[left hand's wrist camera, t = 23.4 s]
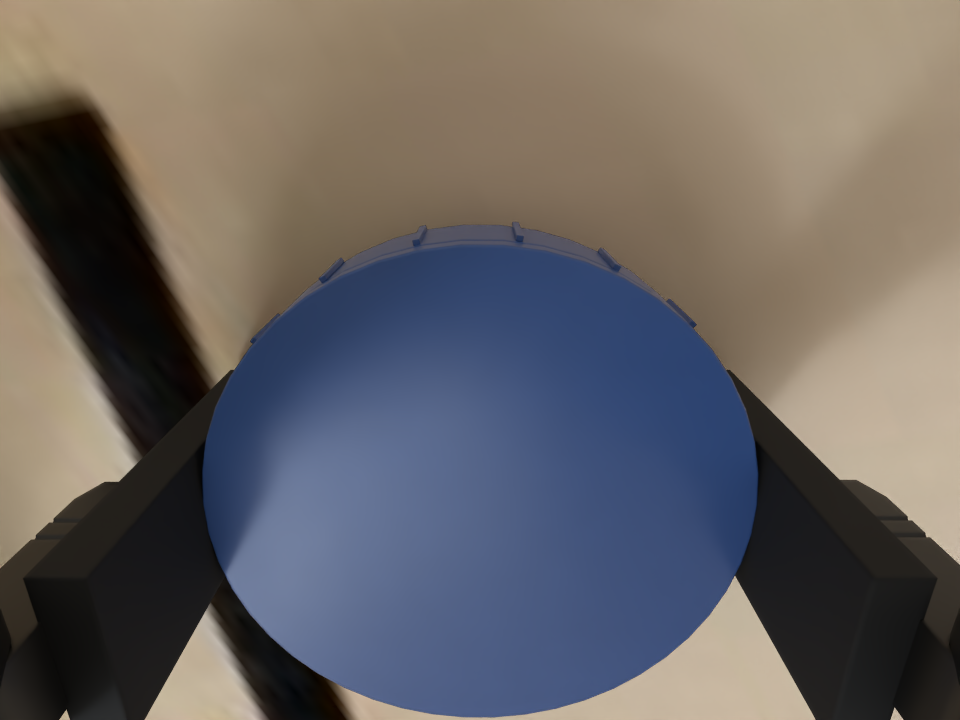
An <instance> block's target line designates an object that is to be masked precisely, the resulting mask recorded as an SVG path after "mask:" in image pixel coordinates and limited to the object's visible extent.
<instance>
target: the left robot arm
mask: <svg viewBox="0 0 960 720" xmlns="http://www.w3.org/2000/svg"><path fill="white" fill-rule="evenodd" d="M233 371H234V370H230V371H229V372H228V373H227V374H226V375H225V376H224V377H223V378H222V379H221V380H220V381H219V382H218V383H217V384H216V385H215V386H214V387H213V388H212V389H211V390H210V391H209V392H208V393H207V394H206V395H205V396H204V397H203V398H202V399H201V400H200V401H199V402H198V403H197V404H196V405H195V406H194V407H193V408H192V409H191V410H190V411H189V412H188V413H187V414H186V415H185V416H184V417H183V418H182V419H181V420H180V421H179V422H178V423H177V424H176V425H175V426H174V427H173V428H172V429H171V430H170V431H169V432H168V433H167V434H166V435H165V436H164V437H163V438H162V439H161V440H160V441H159V442H158V443H157V444H156V445H155V446H154V447H153V448H152V449H151V450H150V451H149V452H148V453H147V454H146V455H145V456H144V457H143V458H142V459H141V460H140V461H139V462H138V463H137V464H136V465H135V466H134V467H133V468H132V469H131V470H130V471H129V472H128V473H127V474H126V475H125V476H124V477H123V478H122V479H121V480H120V481H119V482H104V483H102V484H100V485H99V486H97V487H95V488H93V489H91V490H90V491H88V492H86V493H84V494H83V495H81V496H79V497H77V498H76V499H74V500H73V501H72V502H71V503H70V504H69V505H68V506H67V507H66V508H65V509H63V510H62V511H61V512H60V513H59V514H58V515H57V516H56V517H55V518H54V521H53V523H48V524H47V525H46V526H45V527H44V528H43V529H42V530H41V531H40V532H39V533H38V534H37V535H36V538H35V540H30V541H29V542H28V543H27V544H26V545H25V546H24V547H23V548H22V549H21V550H20V551H18V552H17V553H16V554H15V555H14V556H13V557H12V558H11V559H10V560H9V561H8V562H7V563H6V564H5V565H3V566H2V567H1V568H0V720H59V719H60V718H61V716H62V715H63V713H64V712H65V711H66V709H67V712H68V715H69V718H70V720H145V718H146V716H147V714H148V713H149V711H150V709H151V707H152V705H153V704H154V702H155V700H156V698H157V696H158V695H159V693H160V691H161V689H162V688H163V686H164V684H165V682H166V680H167V679H168V677H169V675H170V673H171V671H172V670H173V668H174V666H175V664H176V663H177V661H178V659H179V657H180V655H181V654H182V652H183V650H184V648H185V647H186V645H187V643H188V641H189V639H190V638H191V636H192V634H193V632H194V630H195V629H196V627H197V625H198V623H199V622H200V620H201V618H202V616H203V614H204V613H205V611H206V609H207V607H208V605H209V604H210V602H211V600H212V598H213V597H214V595H215V593H216V591H217V589H218V588H219V586H220V584H221V582H222V581H223V579H224V577H225V574H224V572H223V570H222V568H221V566H220V564H219V562H218V559H217V556H216V553H215V550H214V547H213V545H212V542H211V539H210V536H209V532H208V527H207V522H206V516H205V511H204V506H203V486H202V467H203V459H204V452H205V444H206V438H207V434H208V431H209V427H210V424H211V421H212V417H213V414H214V410H215V407H216V405H217V403H218V401H219V399H220V397H221V394H222V392H223V390H224V388H225V386H226V384H227V382H228V380H229V378H230V376H231V374H232V373H233ZM726 371H727V372H728V374H729V375H730V377H731V378H732V380H733V383H734V385H735V387H736V389H737V391H738V393H739V395H740V398H741V400H742V402H743V404H744V407H745V409H746V412H747V415H748V419H749V423H750V426H751V430H752V433H753V437H754V441H755V448H756V457H757V466H758V494H757V507H756V512H755V518H754V523H753V528H752V533H751V537H750V540H749V543H748V545H747V548H746V551H745V554H744V556H743V559H742V562H741V565H740V566H739V568H738V570H737V572H736V574H735V576H736V578H737V580H738V582H739V583H740V585H741V587H742V589H743V590H744V592H745V594H746V596H747V598H748V599H749V601H750V603H751V605H752V607H753V608H754V610H755V612H756V614H757V615H758V617H759V619H760V621H761V623H762V624H763V626H764V628H765V630H766V631H767V633H768V635H769V637H770V639H771V640H772V642H773V644H774V646H775V648H776V649H777V651H778V653H779V655H780V656H781V658H782V660H783V662H784V664H785V665H786V667H787V669H788V671H789V673H790V674H791V676H792V678H793V680H794V681H795V683H796V685H797V687H798V689H799V690H800V692H801V694H802V696H803V698H804V699H805V701H806V703H807V705H808V706H809V708H810V710H811V712H812V714H813V715H814V717H815V719H816V720H890V719H891V716H892V713H893V710H894V707H895V708H896V710H897V711H898V712H899V714H900V715H901V717H902V718H903V719H904V720H960V565H959V564H958V563H957V562H956V561H955V560H954V559H953V558H952V557H951V556H950V555H948V554H947V553H946V552H945V551H944V550H943V549H942V548H941V547H940V546H939V545H938V544H937V543H936V542H934V541H933V540H932V539H931V538H930V537H926V535H925V532H924V531H923V530H922V529H920V528H919V527H918V526H917V525H916V524H915V523H914V522H913V521H908V517H907V516H906V515H905V514H904V513H903V512H902V511H901V510H900V509H899V508H898V507H897V506H896V505H895V504H893V503H892V502H891V501H890V500H889V499H888V498H887V497H886V496H884V495H882V494H880V493H879V492H877V491H875V490H873V489H871V488H870V487H868V486H866V485H864V484H863V483H861V482H859V481H857V480H839V479H838V478H837V477H836V476H835V475H834V474H833V473H832V472H831V471H830V470H829V469H828V468H827V467H826V466H825V465H824V464H823V463H822V462H821V461H820V460H819V459H818V458H817V457H816V456H815V455H814V454H813V453H812V452H811V451H810V450H809V449H808V448H807V447H806V446H805V445H804V444H803V443H802V442H801V441H800V440H799V439H798V438H797V437H796V436H795V435H794V434H793V433H792V432H791V431H790V430H789V429H788V428H787V427H786V426H785V425H784V424H783V423H782V422H781V421H780V420H779V419H778V418H777V417H776V416H775V415H774V414H773V413H772V412H771V411H770V410H769V409H768V408H767V407H766V406H765V405H764V404H763V403H762V402H761V401H760V400H759V399H758V398H757V397H756V396H755V395H754V394H753V393H752V392H751V391H750V390H749V389H748V388H747V387H746V386H745V385H744V384H743V383H742V382H741V381H740V380H739V379H738V378H737V377H736V376H735V375H734V374H733V373H732V372H731V371H730V370H726Z"/></svg>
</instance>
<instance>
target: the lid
mask: <svg viewBox="0 0 960 720" xmlns="http://www.w3.org/2000/svg"><path fill="white" fill-rule="evenodd" d="M696 325H697V324H696V323H695V322H694V321H693V320H692V319H691V318H690V317H689V316H688V315H687V314H686V313H684V312H683V311H682V310H681V309H680V308H679V307H678V306H677V305H676V304H675V303H674V302H673V301H672V300H671V299H668V300H667V301H665V300H664V299H663V298H662V297H661V296H660V295H659V294H658V293H657V292H656V291H655V290H653V289H652V288H651V287H650V286H648V285H647V284H646V283H645V282H644V281H642V280H641V279H640V278H639V277H638V276H636V275H635V274H634V273H633V272H631V271H630V270H628V269H627V268H625V267H623V266H622V265H620V264H618V263H617V262H616V261H615V260H614V259H613V258H612V257H611V255H610V254H609V253H608V252H607V251H606V250H604V249H602V248H600V249H599V250H598V252H597V251H595V250H593V249H590V248H588V247H586V246H583V245H581V244H579V243H576V242H574V241H572V240H569V239H566V238H562V237H559V236H555V235H551V234H548V233H544V232H541V231H537V230H531V229H524V228H520V225H519V223H518V222H512V227H510V226H502V225H459V226H451V227H443V228H436V229H428V230H427V228H426V225H424V226H420V227H419V229H418V231H417V233H413V234H409V235H405V236H402V237H398V238H394V239H391V240H389V241H387V242H384V243H382V244H379V245H377V246H375V247H372V248H370V249H367V250H365V251H363V252H360V253H359V254H357V255H355V256H354V257H352V258H350V259H349V260H347V261H345V262H344V260H343V259H342V258H340V259H338V260H337V261H336V262H335V263H334V264H333V265H332V266H331V267H330V268H329V269H328V270H327V271H326V272H325V273H324V274H323V275H322V276H321V277H320V278H319V280H318V281H317V282H315V283H314V284H313V285H312V286H310V287H309V288H308V289H307V290H305V291H304V292H303V293H302V294H301V295H300V296H299V297H298V298H297V299H296V300H295V301H294V302H293V303H292V304H291V305H290V306H289V307H288V308H287V309H286V310H285V311H284V312H283V313H282V314H281V315H280V314H277V315H276V316H275V317H274V318H273V319H272V320H271V321H270V322H269V323H267V324H266V325H265V326H264V327H263V328H262V329H261V330H260V331H259V332H258V333H257V334H256V335H255V336H254V337H253V338H252V339H251V341H250V342H251V343H253V345H252V346H251V347H250V348H249V349H248V351H247V352H246V354H245V355H244V357H243V358H242V360H241V361H240V363H239V364H238V366H237V367H236V368H235V370H234V371H233V373H232V374H231V376H230V378H229V380H228V382H227V384H226V386H225V388H224V390H223V392H222V394H221V397H220V399H219V401H218V403H217V405H216V407H215V410H214V414H213V417H212V421H211V424H210V427H209V431H208V434H207V438H206V444H205V452H204V459H203V467H202V486H203V506H204V511H205V516H206V522H207V527H208V532H209V536H210V539H211V542H212V545H213V547H214V550H215V553H216V556H217V559H218V562H219V564H220V566H221V568H222V570H223V572H224V574H225V576H226V578H227V580H228V581H229V583H230V585H231V587H232V589H233V591H234V592H235V593H236V595H237V596H238V598H239V599H240V601H241V602H242V604H243V605H244V606H245V608H246V609H247V611H248V612H249V614H250V615H251V616H252V617H253V618H254V619H255V620H256V621H257V622H258V624H259V625H260V626H261V627H262V628H263V629H264V630H265V631H266V632H267V634H268V635H269V636H270V637H271V638H273V639H274V640H275V641H276V642H277V643H278V644H279V645H281V646H282V647H283V648H284V649H285V650H286V651H287V652H289V653H290V654H291V655H292V656H293V657H295V658H296V659H298V660H299V661H301V662H302V663H304V664H305V665H306V666H308V667H309V668H311V669H312V670H314V671H315V672H317V673H318V674H320V675H322V676H324V677H326V678H327V679H329V680H331V681H333V682H335V683H337V684H339V685H340V686H342V687H344V688H346V689H349V690H351V691H354V692H356V693H359V694H361V695H363V696H366V697H368V698H371V699H373V700H377V701H380V702H383V703H387V704H390V705H393V706H397V707H400V708H404V709H409V710H414V711H419V712H424V713H429V714H436V715H446V716H457V717H503V716H514V715H525V714H530V713H536V712H541V711H546V710H551V709H556V708H560V707H563V706H567V705H570V704H573V703H577V702H580V701H584V700H587V699H589V698H592V697H594V696H597V695H599V694H601V693H604V692H606V691H609V690H611V689H614V688H616V687H618V686H619V685H621V684H623V683H625V682H627V681H629V680H631V679H633V678H635V677H636V676H638V675H640V674H642V673H643V672H645V671H646V670H648V669H649V668H651V667H652V666H654V665H655V664H657V663H658V662H660V661H661V660H662V659H664V658H665V657H667V656H668V655H669V654H670V653H671V652H673V651H674V650H675V649H676V648H677V647H678V646H680V645H681V644H682V643H683V642H684V641H685V640H687V639H688V638H689V637H690V636H691V635H692V634H693V632H694V631H695V630H696V629H697V628H698V627H699V626H700V625H701V624H702V623H703V622H704V621H705V619H706V618H707V617H708V616H709V615H710V614H711V612H712V611H713V609H714V608H715V607H716V605H717V604H718V602H719V601H720V600H721V598H722V597H723V595H724V594H725V592H726V591H727V589H728V587H729V585H730V584H731V582H732V580H733V578H734V576H735V574H736V572H737V570H738V568H739V566H740V565H741V562H742V559H743V556H744V554H745V551H746V548H747V545H748V543H749V540H750V537H751V533H752V528H753V523H754V518H755V512H756V507H757V494H758V466H757V457H756V448H755V441H754V437H753V433H752V430H751V426H750V423H749V419H748V415H747V412H746V409H745V407H744V404H743V402H742V400H741V398H740V395H739V393H738V391H737V389H736V387H735V385H734V383H733V380H732V378H731V377H730V375H729V374H728V372H727V371H726V369H725V368H724V366H723V365H722V363H721V362H720V360H719V359H718V357H717V356H716V354H715V353H714V351H713V350H712V349H711V348H710V346H709V345H708V344H707V343H706V342H705V341H704V340H703V339H702V338H701V337H700V335H699V334H698V333H697V332H696V331H695V330H694V329H693V328H694V327H695V326H696Z"/></svg>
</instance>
